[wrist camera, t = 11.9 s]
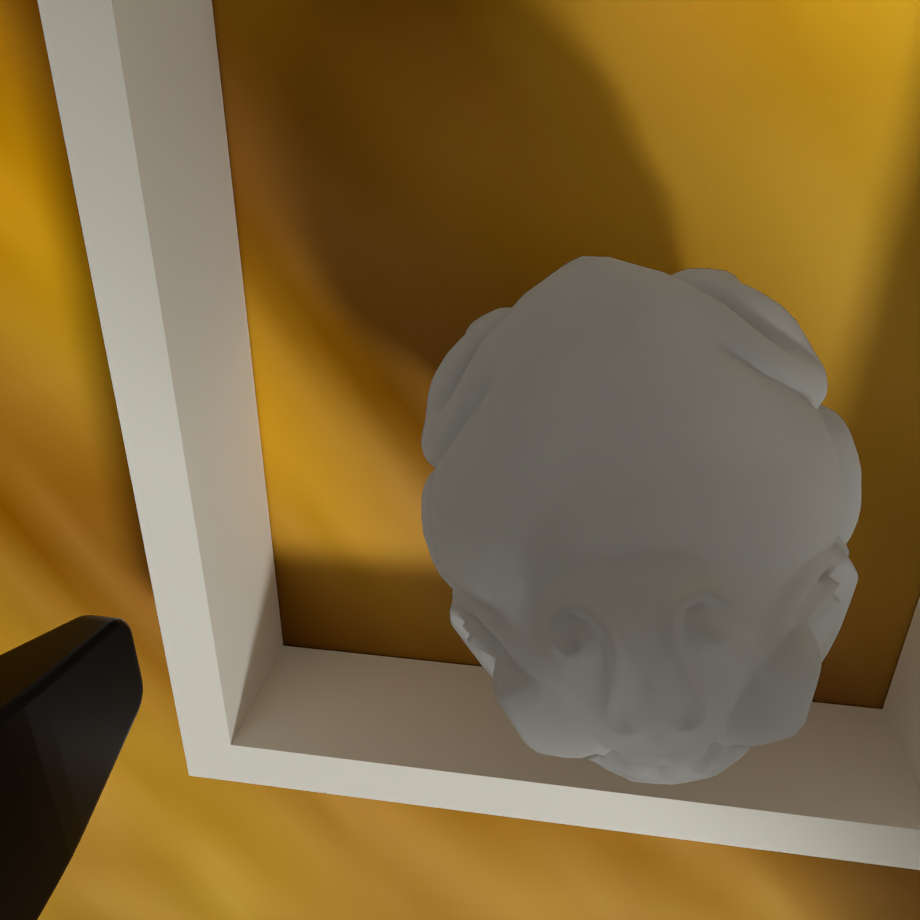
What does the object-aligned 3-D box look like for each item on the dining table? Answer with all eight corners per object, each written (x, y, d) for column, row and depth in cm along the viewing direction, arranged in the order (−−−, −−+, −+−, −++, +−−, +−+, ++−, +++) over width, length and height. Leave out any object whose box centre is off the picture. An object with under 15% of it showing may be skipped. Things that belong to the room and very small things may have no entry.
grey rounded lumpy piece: (498, 580, 16) (442, 887, 10) (409, 246, 14) (257, 385, 7) (808, 541, 15) (966, 872, 9) (779, 160, 12) (978, 242, 6)
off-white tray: (920, 750, 17) (984, 878, 14) (246, 674, 18) (189, 775, 16) (1237, -109, 10) (1473, -177, 7) (138, -93, 12) (9, -142, 9)
